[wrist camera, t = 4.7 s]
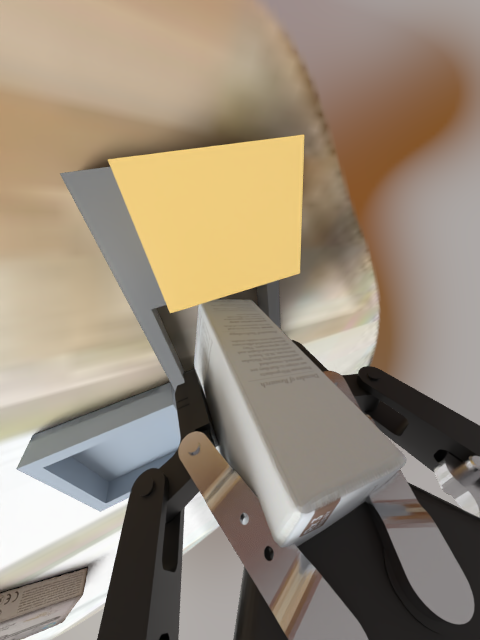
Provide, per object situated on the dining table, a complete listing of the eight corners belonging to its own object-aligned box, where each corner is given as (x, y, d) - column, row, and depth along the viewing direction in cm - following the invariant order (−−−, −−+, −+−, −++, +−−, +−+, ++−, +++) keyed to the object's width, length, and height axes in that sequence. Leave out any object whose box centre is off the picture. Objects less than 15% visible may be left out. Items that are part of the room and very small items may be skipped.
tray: (32, 435, 16) (16, 469, 14) (170, 382, 18) (172, 404, 16) (104, 483, 22) (100, 511, 20) (200, 438, 25) (205, 460, 23)
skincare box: (239, 357, 18) (340, 534, 9) (189, 363, 17) (248, 595, 7) (252, 294, 15) (424, 458, 6) (193, 294, 14) (302, 529, 4)
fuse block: (74, 177, 10) (-63, 142, 3) (258, 151, 12) (379, 101, 6) (177, 383, 19) (192, 478, 13) (271, 346, 21) (324, 411, 15)
